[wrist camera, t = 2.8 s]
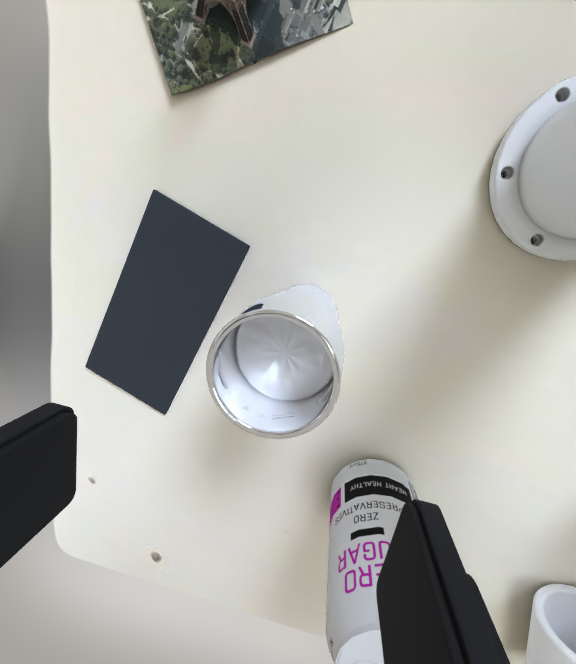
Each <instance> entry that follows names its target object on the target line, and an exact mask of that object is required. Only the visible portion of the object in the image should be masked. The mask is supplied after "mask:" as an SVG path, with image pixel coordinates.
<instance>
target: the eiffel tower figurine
mask: <svg viewBox="0 0 576 664" xmlns="http://www.w3.org/2000/svg"><path fill="white" fill-rule="evenodd" d="M141 2H142V6H143V9H144V12H145V15H146V18H147V21H148V24H149V27H150V30H151V33H152V36H153V40H154V43H155V46H156V49H157V52H158V55H159V58H160V61H161V64H162V67H163V70H164V73H165V76H166V80H167V83H168V86H169V89H170V92H171V95H174V94H177V93H180V92H183V91H186V90H189V89H192V88H195V87H198V86H200V85H203V84H206V83H208V82H211V81H213V80H216V79H219V78H221V77H223V76H225V75H227V74H229V73H231V72H233V71H235V70H237V69H239V68H241V67H243V66H245V65H248V64H250V63H252V62H254V63H256V61H257V60H258V59H260V58H263V57H265V56H267V55H269V54H272V53H274V52H276V51H279V50H282V49H284V48H287V47H289V46H292V45H295V44H297V43H300V42H303V41H306V40H308V39H311V38H314V37H317V36H320V35H323V34H325V33H328V32H331V31H334V30H337V29H339V28H342V27H344V26H347V25H350V24H352V23H353V22H352V18H351V14H350V9H349V5H348V0H141Z"/></svg>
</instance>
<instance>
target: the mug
mask: <svg viewBox="0 0 576 664" xmlns="http://www.w3.org/2000/svg"><path fill="white" fill-rule="evenodd" d="M525 664H576V587H573V586H570V585H564V584H549V585H545V586H543V587H541V588H540V589H539V590H538V591H537V592H536V593H535V596H534V599H533V606H532V613H531V621H530V628H529V635H528V643H527V650H526V658H525Z"/></svg>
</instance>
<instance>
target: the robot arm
mask: <svg viewBox="0 0 576 664" xmlns="http://www.w3.org/2000/svg"><path fill="white" fill-rule="evenodd" d="M555 97H556V98H557V100H558V101H557V100H556V98H555ZM501 172H503V173H504V175H505V176H504V178H502V177H501ZM489 193H490V202H491V207H492V210H493V213H494V216H495V219H496V221H497V223H498V224H499V226H500V228H501V229H502V231H503V232H504V234H505V235H506V236H507V237H508V238H509V239H510V240H511V241H512V242H513V243H514V244H516V245H517V246H519V247H520V248H522V249H523V250H525V251H526V252H529V253H531V254H534V255H536V256H539V257H542V258H548V259H553V260H567V261H576V75H574V76H572V77H570V78H568V79H566V80H564V81H562V82H560V83H559V84H557V85H556V86H554V87H553V88H551V89H550V90H548V91H547V92H545V93H544V94H542V95H541V96H540V97H539V98H538V99H536V100H535V101H534V102H533V103H531V104H530V105H529V106H528V107H527V108H526V109H525V110H524V111H523V112H522V113H521V114H520V116H519V117H518V118H517V119H516V120H515V121H514V122H513V124H512V125H511V127H510V128H509V130H508V131H507V133H506V134H505V136H504V137H503V139H502V141H501V143H500V146H499V148H498V150H497V152H496V154H495V157H494V161H493V165H492V168H491V172H490V184H489ZM531 238H533V242H532V243H531ZM76 454H77V416H76V415H75V414H74V411H73V409H72V408H70V407H67V406H63V405H60V404H56V403H47V404H45V405H42V406H41V407H39V408H37V409H35V410H33V411H31V412H29V413H27V414H25V415H23V416H21V417H19V418H17V419H15V420H13V421H12V422H9V423H7V424H5V425H3V426H2V427H0V568H1V567H2V566H3V565H4V564H5V563H6V562H7V561H8V560H9V559H11V558H12V557H13V556H14V555H15V554H16V553H17V552H18V551H19V550H20V549H21V548H22V547H23V546H25V545H26V544H27V543H28V542H29V541H30V540H31V539H32V538H33V537H34V536H35V535H36V534H37V533H38V532H40V531H41V530H42V529H43V528H44V527H45V526H46V525H47V524H48V523H49V522H50V521H51V520H52V519H54V518H55V517H56V516H57V515H58V514H59V513H60V512H61V511H62V510H63V509H64V508H65V507H66V506H68V504H69V503H70V502H71V501H72V499H73V497H74V495H75V492H76ZM376 597H377V606H378V615H379V623H380V632H381V641H382V649H383V658H384V664H510V662H509V660H508V657H507V655H506V652H505V650H504V648H503V645H502V643H501V641H500V638H499V636H498V634H497V631H496V629H495V626H494V624H493V622H492V619H491V617H490V615H489V612H488V610H487V608H486V605H485V603H484V600H483V598H482V596H481V593H480V591H479V589H478V586H477V585H476V583H475V581H474V579H473V578H472V577H471V576H470V575H469V574H466V572H465V569H464V567H463V564H462V562H461V559H460V557H459V554H458V552H457V549H456V547H455V544H454V542H453V540H452V537H451V535H450V532H449V530H448V527H447V525H446V522H445V520H444V517H443V515H442V512H441V510H440V508H439V506H437V505H436V504H432V503H428V502H424V501H421V500H417V499H413V501H412V502H411V504H408V503H405V504H404V506H403V508H402V511H401V514H400V517H399V520H398V522H397V525H396V528H395V531H394V534H393V537H392V540H391V543H390V545H389V548H388V551H387V554H386V557H385V560H384V563H383V566H382V568H381V571H380V574H379V577H378V580H377V587H376Z"/></svg>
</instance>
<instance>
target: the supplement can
mask: <svg viewBox="0 0 576 664" xmlns="http://www.w3.org/2000/svg"><path fill="white" fill-rule="evenodd" d="M413 499H417V500H418V497H417V494H416V491H415V488H414V486H413V484H412V482H411V480H410V478H409V476H408V475H407V474H405V473H404V472H403V471H402V470H401V469H400V468H399V467H398V466H395V465H393V464H391V463H388V462H386V461H384V460H375V459H365V460H359V461H354V462H352V463H351V464H349V465H347V466H345V467H344V468H342V469H341V470H340V472H339V473H338V474H337V475H336V477H335V478H334V481H333V485H332V488H331V507H330V533H329V559H328V584H327V610H326V636H327V642H328V648H329V651H330V653H331V656H332V658H333V660H334V663H335V664H384V658H383V649H382V641H381V632H380V623H379V615H378V606H377V597H376V587H377V580H378V577H379V574H380V571H381V568H382V566H383V563H384V560H385V557H386V554H387V551H388V548H389V545H390V543H391V540H392V537H393V534H394V531H395V528H396V525H397V522H398V520H399V517H400V514H401V511H402V508H403V506H404V504H405V503H408V504H411V502H412V501H413Z"/></svg>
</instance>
